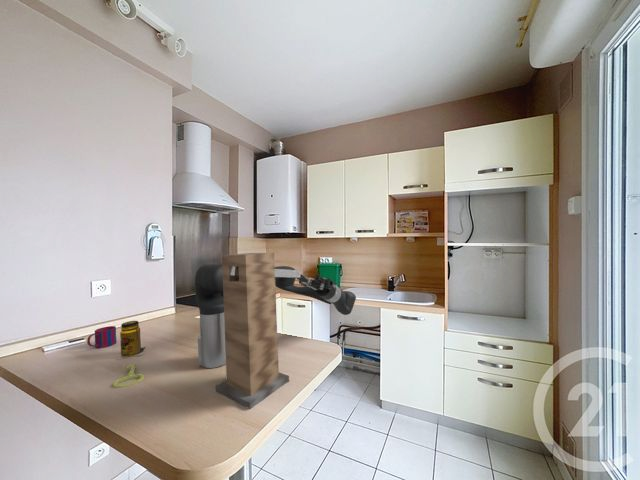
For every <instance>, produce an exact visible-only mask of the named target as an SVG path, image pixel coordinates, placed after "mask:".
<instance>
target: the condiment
mask: <svg viewBox="0 0 640 480" xmlns="http://www.w3.org/2000/svg"><path fill="white" fill-rule="evenodd" d="M120 327H121V328H120V329H121V330H120V332H119V337H120V355H119V356H118V357H117V360H121V359H128V358H134V357H137V356H141V355H142V354H143V353H144V351H145V350H146V348H147V346H143V347H142V344H141V341H142V340H141V327H140V323H139V321H138V320H130V321H126V322H123V323H121V325H120Z"/></svg>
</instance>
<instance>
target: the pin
mask: <svg viewBox="0 0 640 480" xmlns="http://www.w3.org/2000/svg"><path fill="white" fill-rule="evenodd" d="M301 273H302V272H301V270H300V269H299V270H298V269H295V270H285V269H275V277H294V278H296V279H297V278H300V275H302V274H301ZM230 275H234V276H239V268H238V267H236V266H231V269H230Z"/></svg>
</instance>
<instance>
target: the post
mask: <svg viewBox="0 0 640 480" xmlns="http://www.w3.org/2000/svg"><path fill="white" fill-rule="evenodd" d="M221 265H222V271H223V295H222V297H223V298H224V323H225V350H226V364H225V372H226V373H225V374H226V380H223V381H222V382H219V383H218V384H216V385H215V392H216V393H218V394H220V395H222V396H225V397H226V398H229V399H231V400H232V401H234V402H235V403H237V404H239V405H242V406H243V407H245V408H247V409H248V410H249V409H250V410H251V409H252V408H254V407H255V406H256V405H258V404H259V403H261V402H262V401H264V400H265V399H266V398H267V397H269V396H270V395H272V394H273V393H275V392H276V391H277V390H279V389H280V388H281V387H283V386H285V385H286V384H287V383H288V382H290V375H288V374H286V373H285V374H284V373H282V372H280V371H279V347H278V346H279V345H278V323H277V322H278V320H277V317H278V316H277V297H276V296H277V295H276V294H277V293H276V286H275V267H276V265H275V252H246V253H245V252H244V253H233V254H232V253H231V254H230V253H229V254H222V255H221ZM231 266H236V267H238V268H239V276H234V275H230V269H231Z"/></svg>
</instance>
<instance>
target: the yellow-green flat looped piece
mask: <svg viewBox="0 0 640 480" xmlns="http://www.w3.org/2000/svg"><path fill="white" fill-rule="evenodd" d="M136 366H137V364H136V363H132V364H131V365H127V366H126V367H125V370H129V372H128V374H126V376H123V377H122V378H119V379H116V380H115V381H114V382H113V385H112V387H113V388H114V389H120V388H127V387H129V386H133V385H136V384H138V383H141V382H142V381H143V380H144V378H145V376H144V374H142V373H136V374H135V371H136ZM134 379H136V380H134ZM130 380H134V381H133V382H129V383H123V382H125V381H130ZM120 383H123V384H120Z"/></svg>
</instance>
